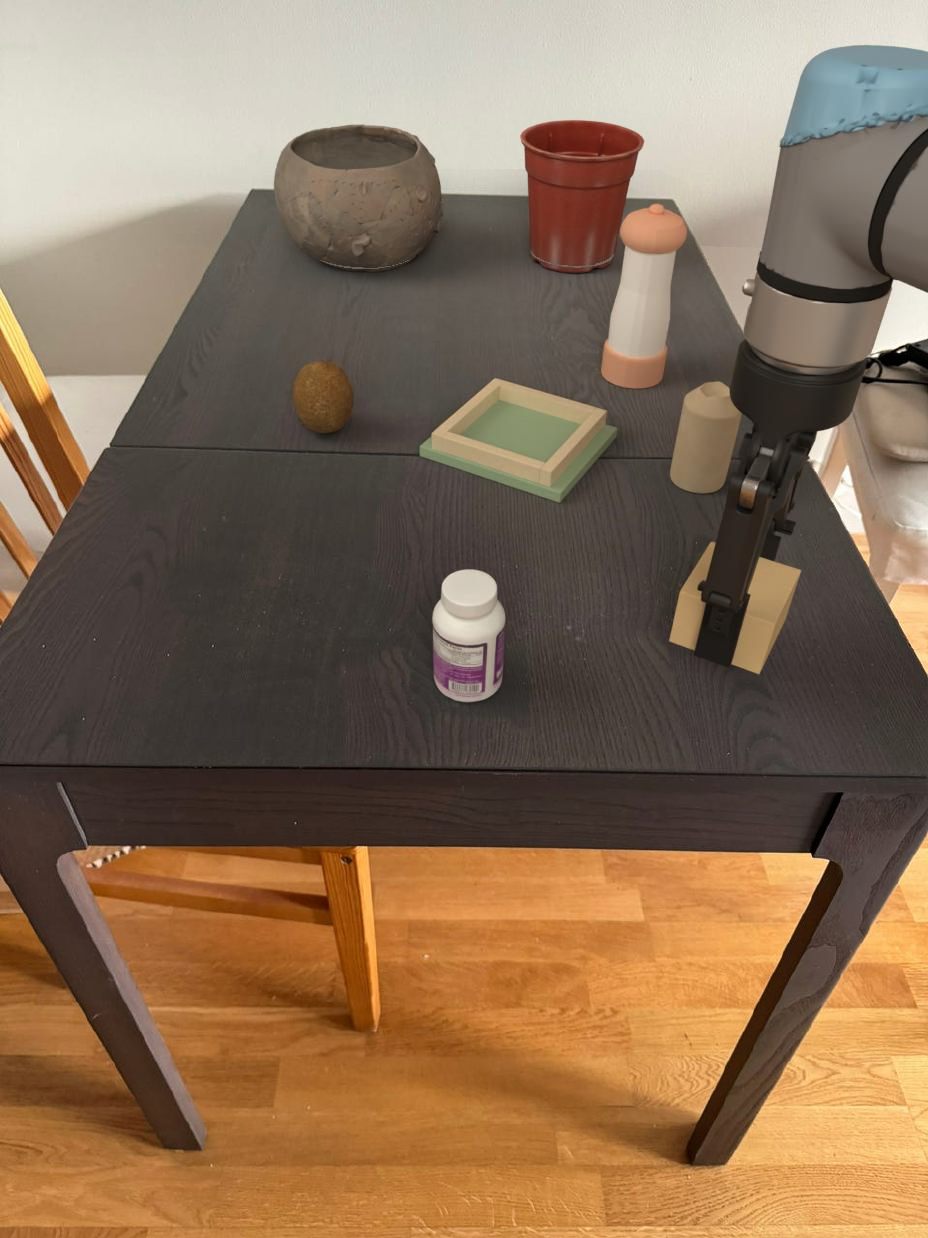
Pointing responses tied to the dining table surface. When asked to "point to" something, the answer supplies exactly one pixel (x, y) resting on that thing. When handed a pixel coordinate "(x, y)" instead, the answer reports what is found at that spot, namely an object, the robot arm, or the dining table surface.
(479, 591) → the pill bottle
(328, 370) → the fruit
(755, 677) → the dining table surface
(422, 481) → the dining table surface
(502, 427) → the base pad
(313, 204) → the bowl
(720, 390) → the candle
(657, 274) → the pepper shaker
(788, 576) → the tan rectangular block
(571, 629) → the dining table surface
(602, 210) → the flower pot
